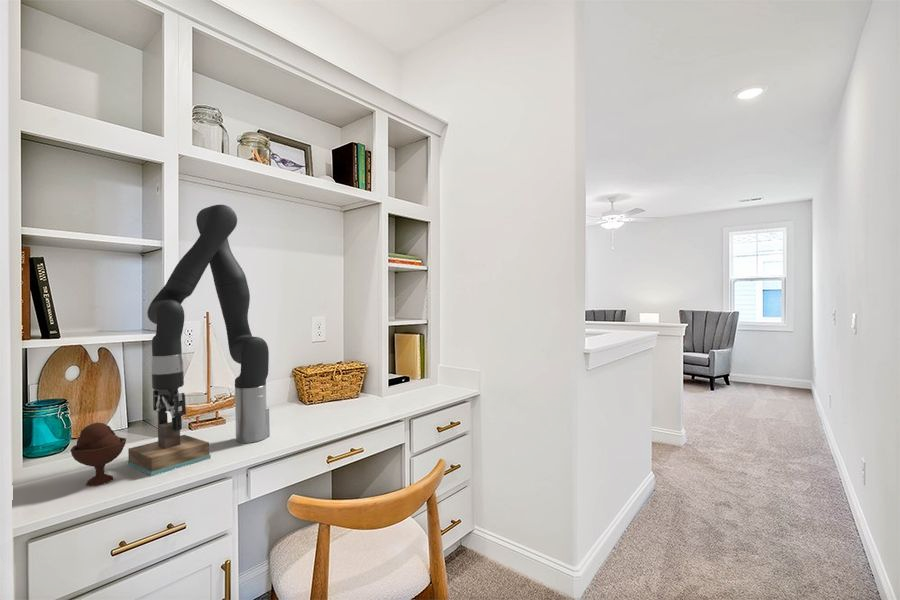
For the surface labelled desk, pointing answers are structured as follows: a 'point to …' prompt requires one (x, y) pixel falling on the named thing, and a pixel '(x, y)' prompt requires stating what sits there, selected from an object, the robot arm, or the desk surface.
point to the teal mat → (167, 467)
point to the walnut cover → (168, 450)
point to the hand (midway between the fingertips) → (169, 428)
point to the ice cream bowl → (98, 450)
